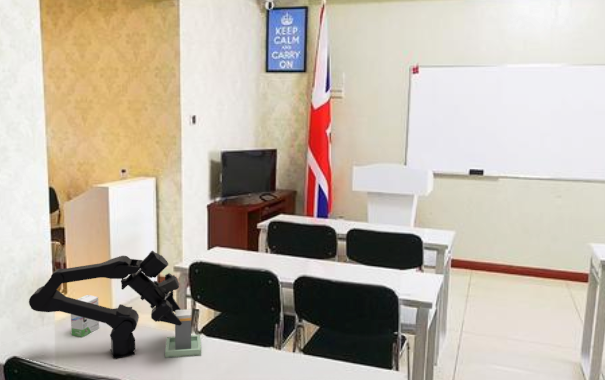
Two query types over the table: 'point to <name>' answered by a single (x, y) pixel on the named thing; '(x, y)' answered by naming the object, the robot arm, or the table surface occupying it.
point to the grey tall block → (183, 330)
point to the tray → (193, 351)
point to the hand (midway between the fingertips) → (181, 318)
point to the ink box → (84, 320)
